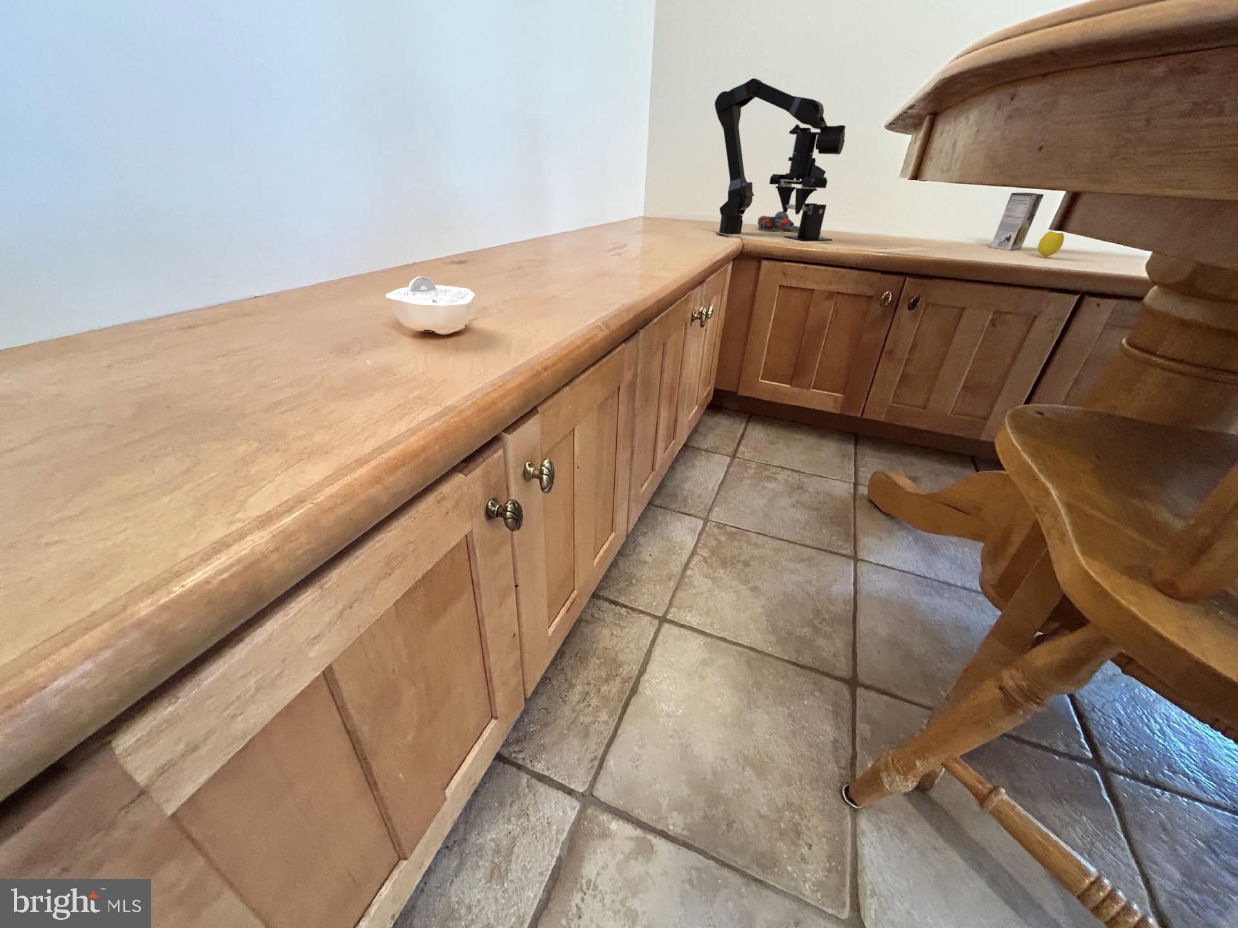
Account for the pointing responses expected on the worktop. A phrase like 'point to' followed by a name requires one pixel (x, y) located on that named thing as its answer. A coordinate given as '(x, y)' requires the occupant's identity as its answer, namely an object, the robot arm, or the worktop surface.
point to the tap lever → (801, 209)
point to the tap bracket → (811, 224)
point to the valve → (776, 223)
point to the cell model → (432, 305)
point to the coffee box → (1016, 220)
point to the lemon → (1050, 243)
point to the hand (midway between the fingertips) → (791, 213)
